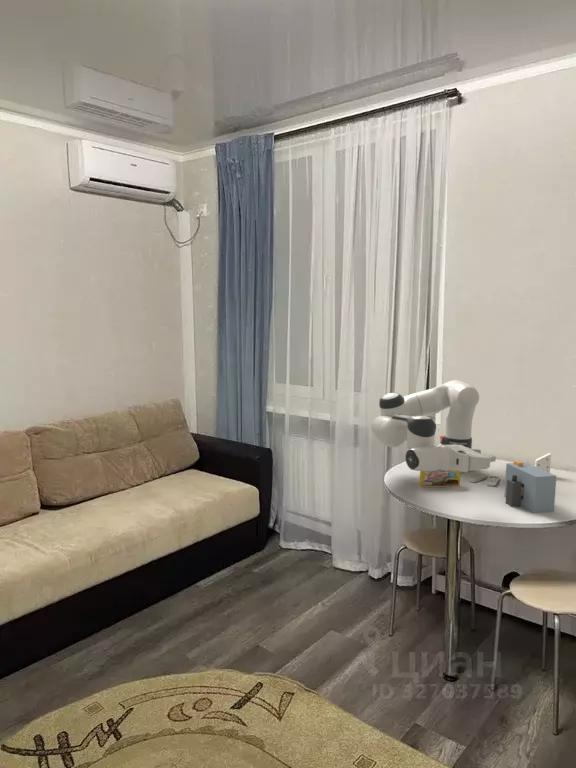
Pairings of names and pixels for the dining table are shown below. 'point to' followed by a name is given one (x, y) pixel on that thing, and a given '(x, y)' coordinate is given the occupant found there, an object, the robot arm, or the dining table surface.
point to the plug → (514, 492)
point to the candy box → (440, 478)
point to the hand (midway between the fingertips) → (487, 455)
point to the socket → (533, 486)
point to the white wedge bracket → (544, 462)
